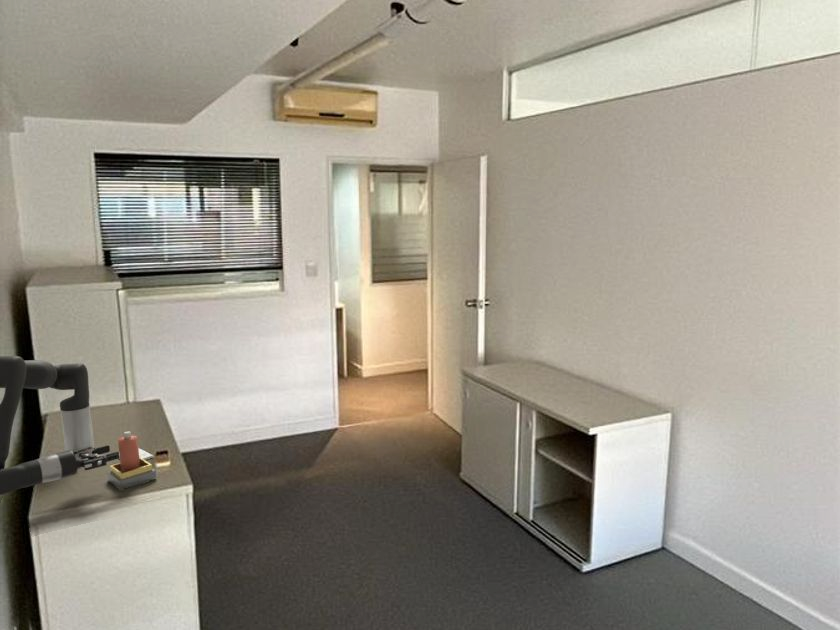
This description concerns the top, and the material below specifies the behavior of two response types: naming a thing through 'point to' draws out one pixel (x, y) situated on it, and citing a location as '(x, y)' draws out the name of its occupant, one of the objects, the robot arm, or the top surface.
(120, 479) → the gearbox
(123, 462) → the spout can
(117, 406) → the top surface
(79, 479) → the top surface
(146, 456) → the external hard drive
